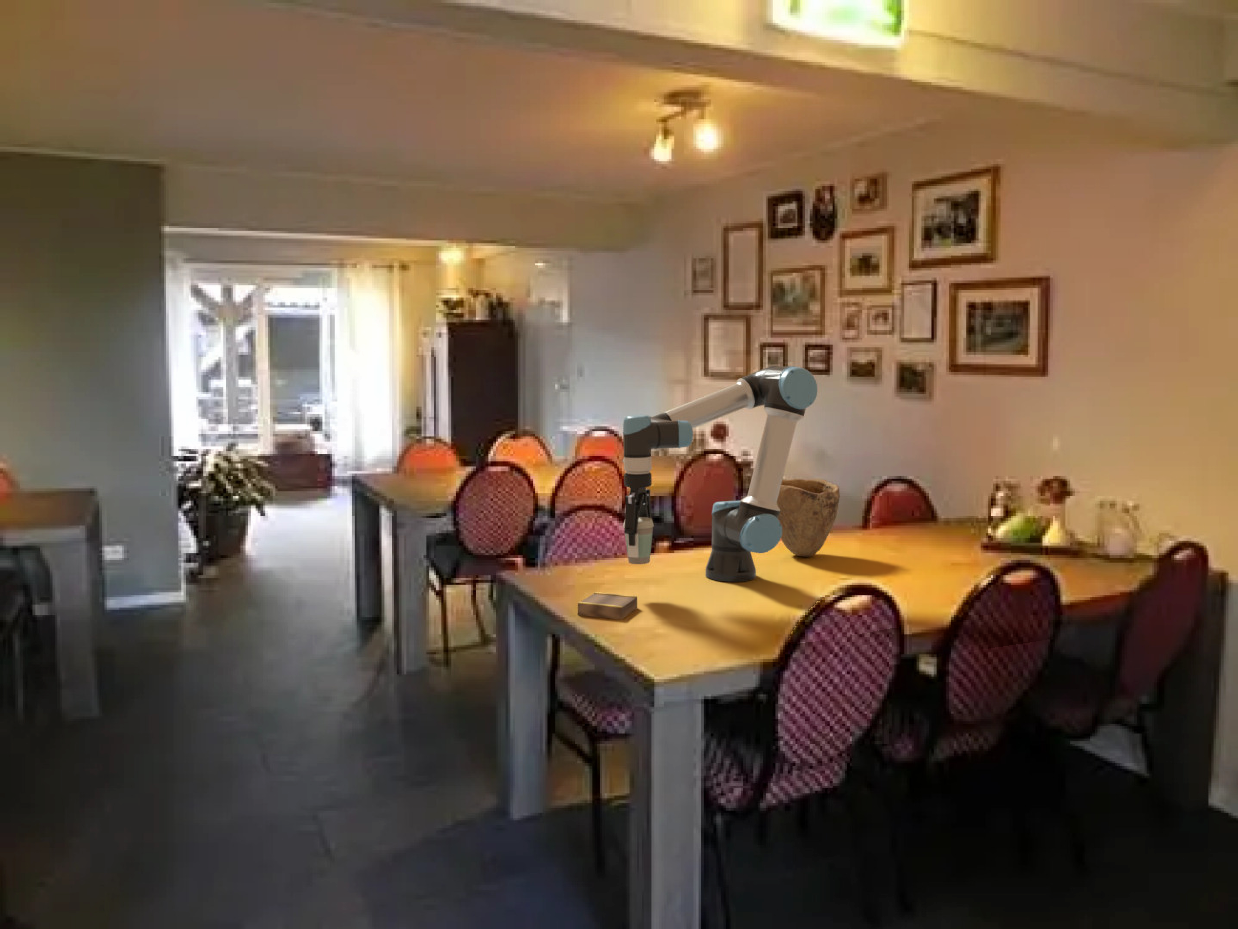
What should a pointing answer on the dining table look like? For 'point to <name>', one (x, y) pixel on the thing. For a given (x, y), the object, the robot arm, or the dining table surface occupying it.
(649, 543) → the coffee cup
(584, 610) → the block
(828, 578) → the dining table surface
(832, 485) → the ancient clay pot
